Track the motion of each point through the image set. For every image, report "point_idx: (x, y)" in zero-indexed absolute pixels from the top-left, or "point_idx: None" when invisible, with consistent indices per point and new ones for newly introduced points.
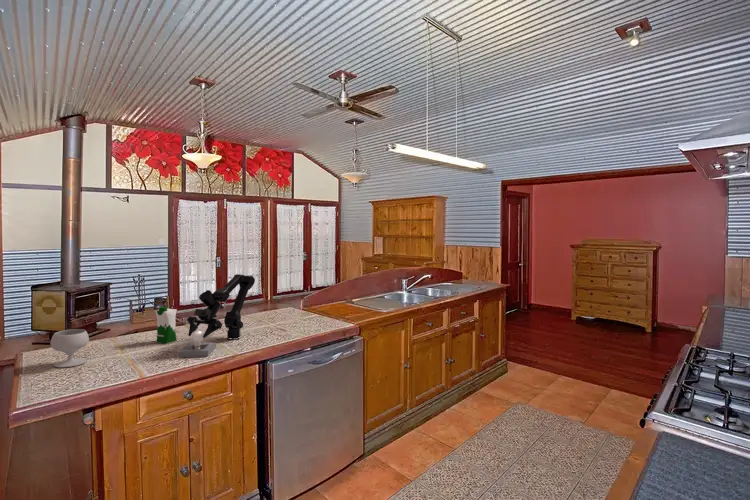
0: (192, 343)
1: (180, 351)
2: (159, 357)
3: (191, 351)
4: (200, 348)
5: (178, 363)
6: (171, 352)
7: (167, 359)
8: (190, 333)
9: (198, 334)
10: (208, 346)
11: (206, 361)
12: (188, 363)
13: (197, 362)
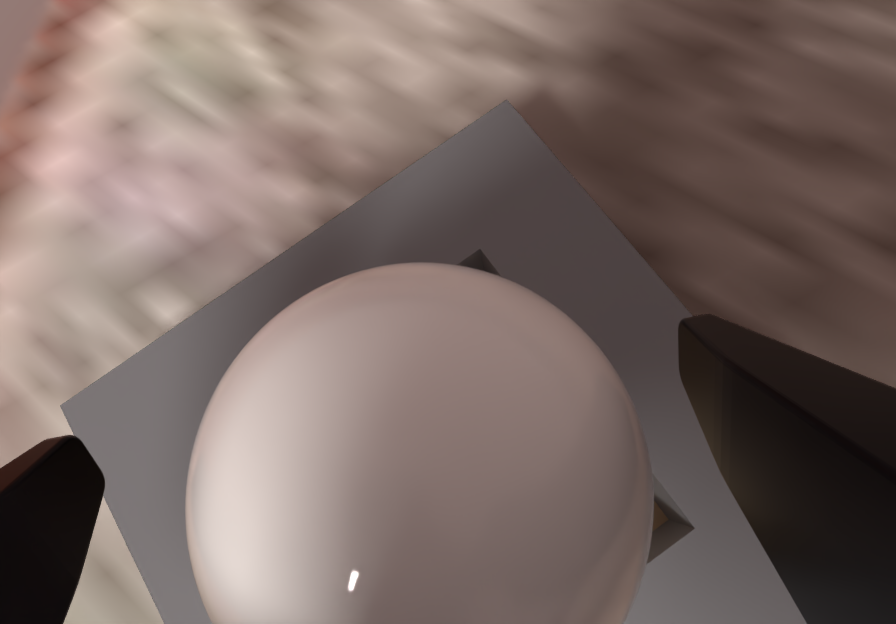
0: None
1: (478, 121)
2: (762, 10)
3: (317, 233)
4: None
5: (282, 26)
6: (877, 238)
7: (565, 28)
8: (714, 390)
9: (218, 393)
10: None
11: (4, 262)
12: (165, 92)
13: (87, 174)
